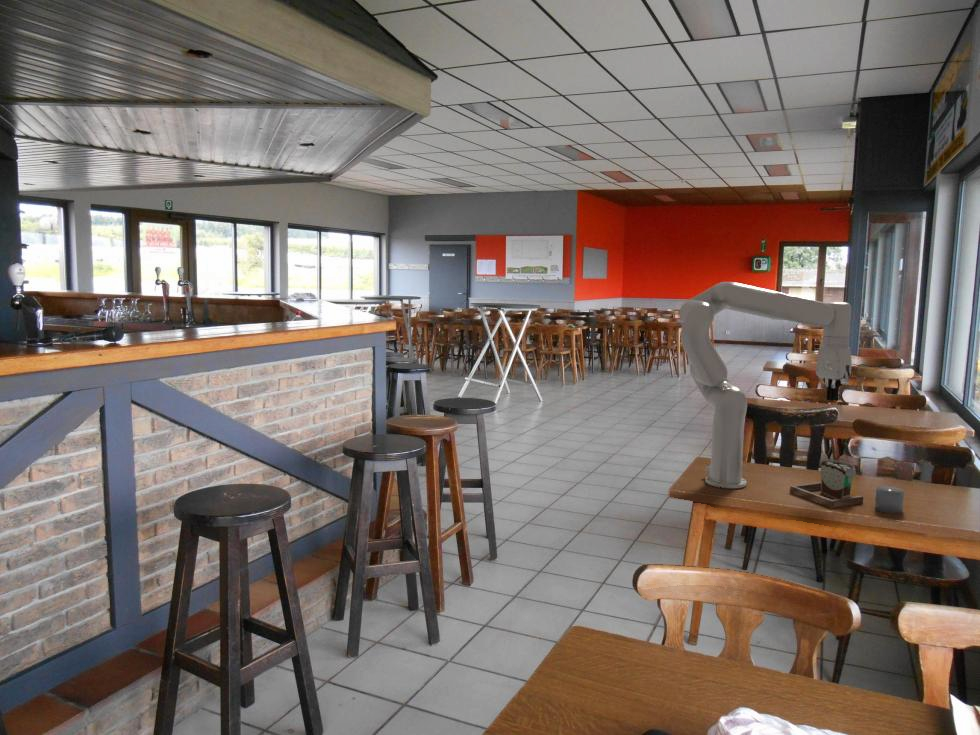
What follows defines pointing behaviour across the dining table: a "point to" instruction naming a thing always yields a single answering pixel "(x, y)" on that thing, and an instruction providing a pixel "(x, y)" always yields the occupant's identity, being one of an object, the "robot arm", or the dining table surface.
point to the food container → (836, 478)
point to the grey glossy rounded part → (889, 499)
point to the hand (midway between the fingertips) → (832, 400)
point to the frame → (804, 492)
